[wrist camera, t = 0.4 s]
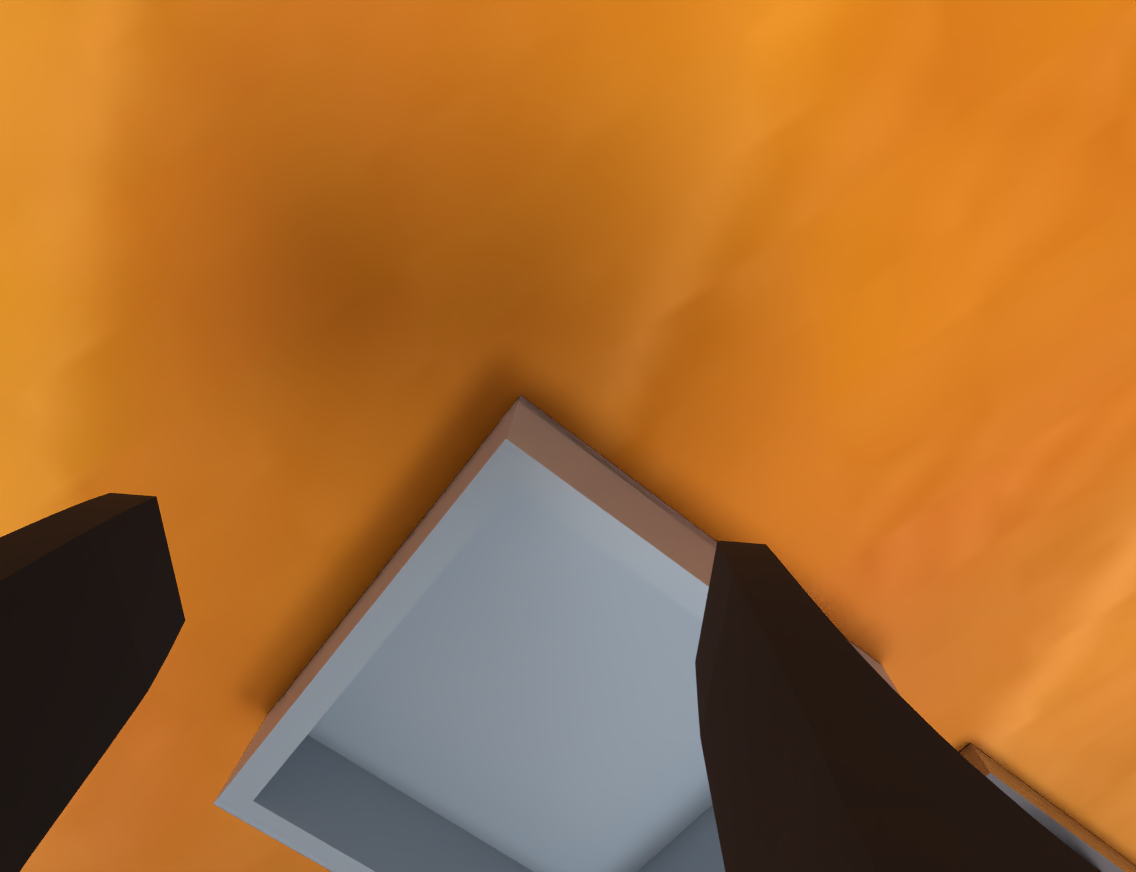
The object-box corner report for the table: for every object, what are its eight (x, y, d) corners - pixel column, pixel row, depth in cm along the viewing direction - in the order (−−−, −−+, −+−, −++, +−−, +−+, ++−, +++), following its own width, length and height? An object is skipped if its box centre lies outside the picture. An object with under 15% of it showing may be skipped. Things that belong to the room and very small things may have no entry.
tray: (599, 916, 26) (599, 1024, 23) (266, 716, 23) (213, 804, 20) (882, 665, 22) (932, 750, 19) (520, 394, 20) (506, 438, 16)
